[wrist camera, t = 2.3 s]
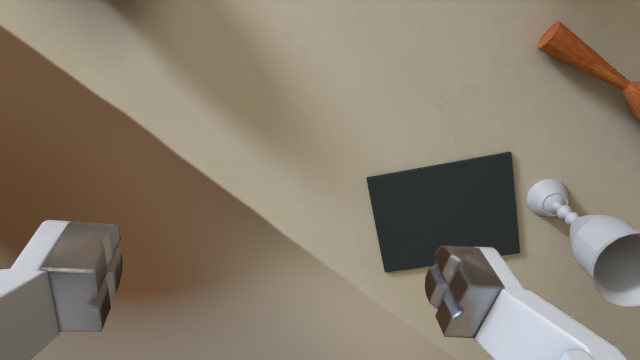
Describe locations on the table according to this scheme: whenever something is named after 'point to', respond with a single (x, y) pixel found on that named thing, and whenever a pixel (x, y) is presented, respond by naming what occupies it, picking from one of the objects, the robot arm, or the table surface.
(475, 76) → the table surface
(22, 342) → the robot arm
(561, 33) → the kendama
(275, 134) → the table surface
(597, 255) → the chalice
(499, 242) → the mat
